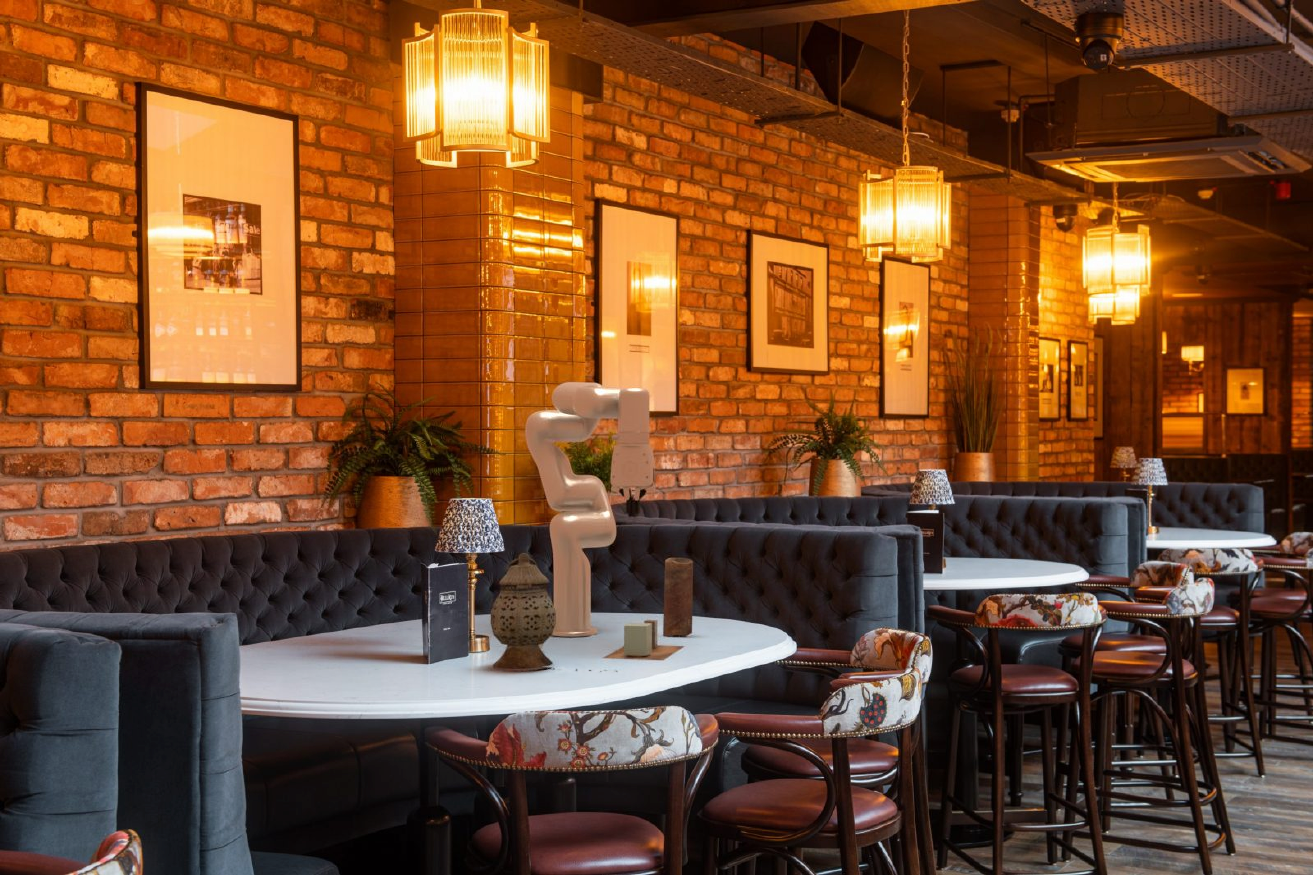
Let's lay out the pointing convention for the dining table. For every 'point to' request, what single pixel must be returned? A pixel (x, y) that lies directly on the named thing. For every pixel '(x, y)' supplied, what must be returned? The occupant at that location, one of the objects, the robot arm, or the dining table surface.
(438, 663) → the dining table surface
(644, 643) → the olive block
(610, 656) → the board
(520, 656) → the lantern
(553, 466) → the robot arm
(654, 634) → the brown post
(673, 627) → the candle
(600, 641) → the dining table surface
